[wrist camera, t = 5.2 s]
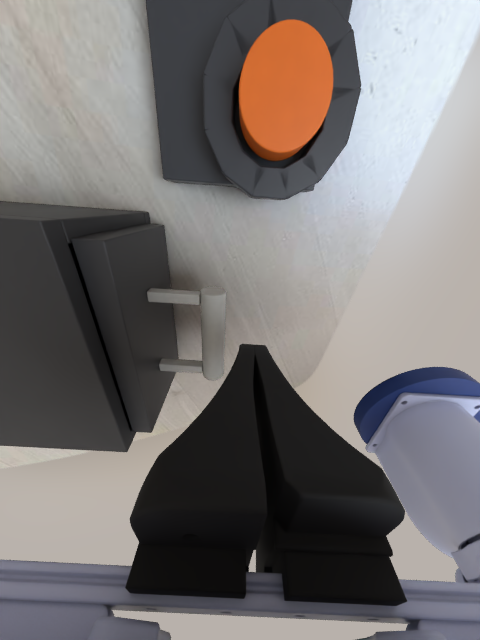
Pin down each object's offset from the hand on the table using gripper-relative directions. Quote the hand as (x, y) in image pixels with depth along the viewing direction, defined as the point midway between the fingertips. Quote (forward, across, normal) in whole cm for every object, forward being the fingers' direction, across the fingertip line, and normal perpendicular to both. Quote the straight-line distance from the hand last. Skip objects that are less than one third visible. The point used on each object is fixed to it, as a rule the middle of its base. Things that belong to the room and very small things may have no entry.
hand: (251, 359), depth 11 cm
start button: (+3, 0, -11) cm, 11 cm away
